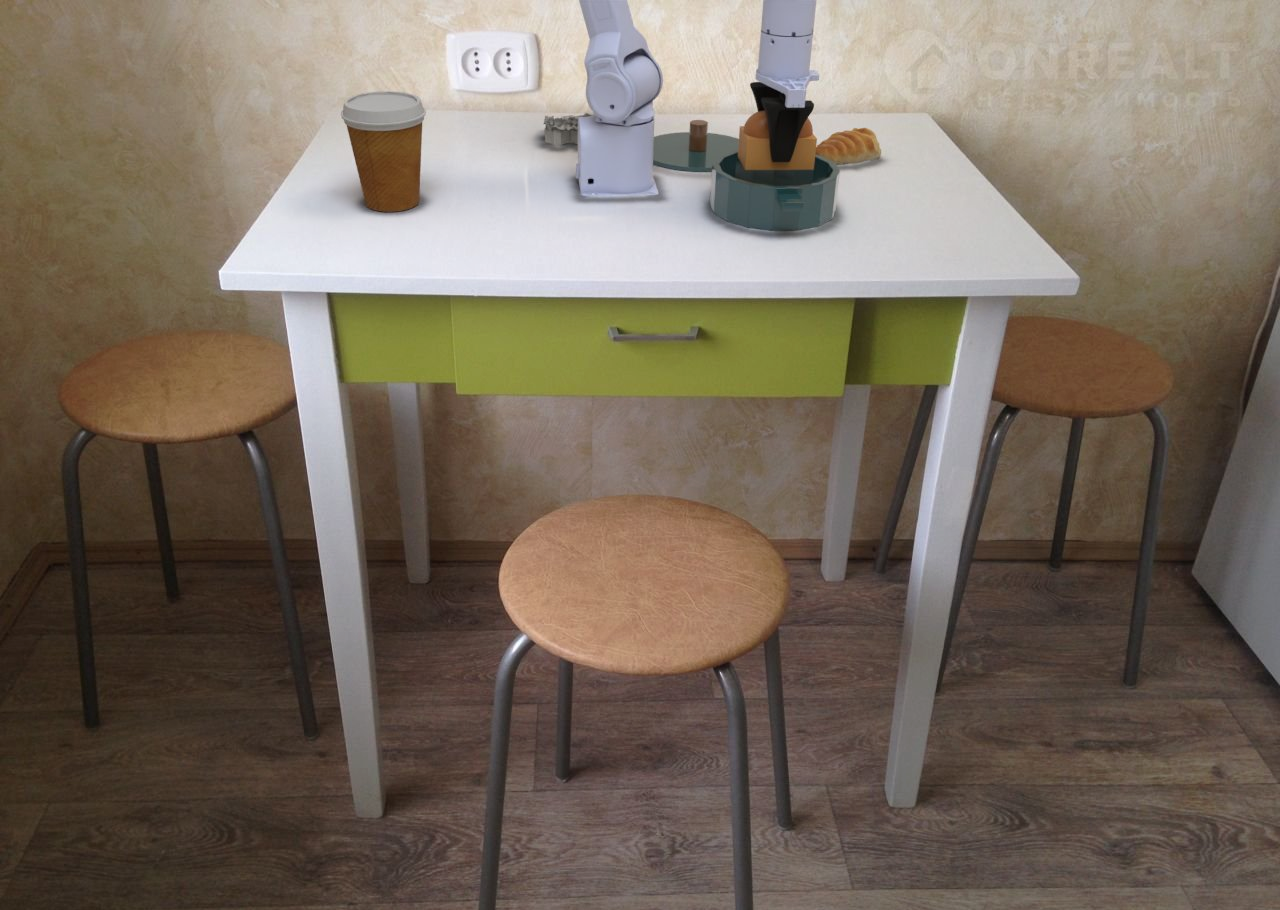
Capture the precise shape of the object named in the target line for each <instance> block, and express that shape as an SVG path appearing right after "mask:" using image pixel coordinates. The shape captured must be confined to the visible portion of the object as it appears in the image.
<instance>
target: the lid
mask: <svg viewBox="0 0 1280 910" xmlns="http://www.w3.org/2000/svg"><path fill="white" fill-rule="evenodd" d="M688 129H689V131H683V132H681V131H680V132H672V133H671V132H670V133H664V134H659V135H654V147H653V165H656V166H658V167H661V168H666V169H670V170H676V171H685V172H695V173H696V172H699V173H701V172H702V173H704V172H705V173H709V172H711V173H712V164H713V162H714V161H715V160H716V159H717V157H718V156H721V155H723V154H726V153H729V152H731V151H735V150H738V145H739V137H738V138H737V137H734V136H729V135H725V134H720V133H712V132H708V130H709V122H708V121H707V120H704V119H693V120H690V121H689V128H688Z"/></svg>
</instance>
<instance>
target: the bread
mask: <svg viewBox="0 0 1280 910" xmlns="http://www.w3.org/2000/svg"><path fill="white" fill-rule="evenodd" d="M813 130H814V129H813V124H812V122H811V120H810V118H809V117H808V118H807V120H806V121H805V123H804V125H803V127H802V129H801V132H800V134H799V137H798V140H797V143H796V146H795V150H794V153H793V156H792V158H791V161H790V162H772V159H771V154H770V141H769V127H768V121H767V116H766V113H765V111H759V112H758V111H757V112H755V113H753V114H751V115H750V116H749V117H748V119H746V121H745V123H744V125H740V126H739V134H738V139H739V145H738V158H739V160H740V161H741V163H742V165H743V167H744V169H745V170H813V169H814V162H815V152H816V147H817V144H818V143H817V141H818V138H817V137H816V135H815V134H814V131H813Z"/></svg>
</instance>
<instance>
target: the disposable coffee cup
mask: <svg viewBox="0 0 1280 910" xmlns="http://www.w3.org/2000/svg"><path fill="white" fill-rule="evenodd" d="M342 108H343V109H342V111H341V112H340V117H341V119H342V120H343V122H344V125H345V126H346V130H347V133H348V137H349V141H350V145H351V149H352V153H353V158H354V161H355V166H356V169H357V174H358V177H359V183H360V186H361V190H362V196H363V200H364V203H365V206H366V208H369V209H370V210H373V211H376V212H377V211H378V212H385V213H386V212H388V213H391V212H393V213H394V212H402V211H406V210H411V209H412V208H415V207H417V206H418V205H419V204H420V191H421V189H420V188H421V187H420V185H421V167H422V164H421V163H422V143H423V142H422V141H423V136H422V135H423V122H424V120H425V116H426V114H427V110H426V109H425V107H423V103H422V99H421V98H420V97H419V96H417V95H415V94H413V93H410V92H404V91H389V90H385V91H381V90H379V91H368V92H362V93H357V94H354V95H352V96H349V97H347V98H346V99H344V100H343V107H342Z"/></svg>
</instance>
